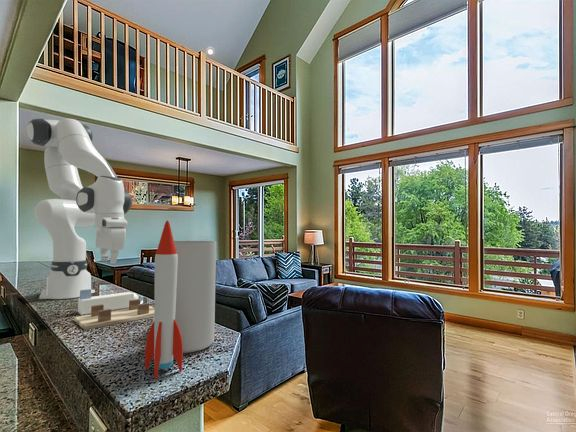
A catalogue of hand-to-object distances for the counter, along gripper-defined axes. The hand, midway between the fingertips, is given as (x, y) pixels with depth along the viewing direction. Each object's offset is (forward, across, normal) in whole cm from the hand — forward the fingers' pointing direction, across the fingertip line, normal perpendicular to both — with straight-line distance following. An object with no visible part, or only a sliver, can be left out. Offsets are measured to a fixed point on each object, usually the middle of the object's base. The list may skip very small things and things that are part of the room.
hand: (108, 262), depth 109 cm
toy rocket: (+17, +59, -6) cm, 61 cm away
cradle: (+16, +14, 0) cm, 21 cm away
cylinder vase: (+17, +49, +4) cm, 52 cm away
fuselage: (+16, 0, +1) cm, 16 cm away
